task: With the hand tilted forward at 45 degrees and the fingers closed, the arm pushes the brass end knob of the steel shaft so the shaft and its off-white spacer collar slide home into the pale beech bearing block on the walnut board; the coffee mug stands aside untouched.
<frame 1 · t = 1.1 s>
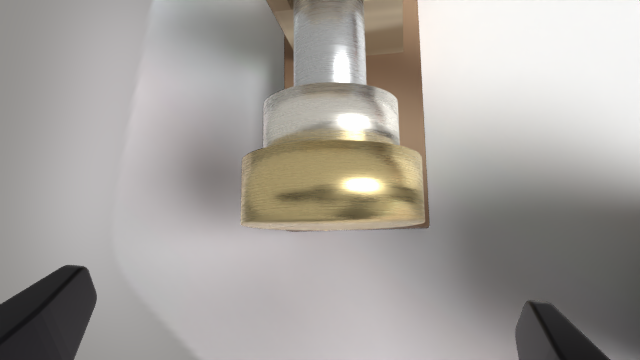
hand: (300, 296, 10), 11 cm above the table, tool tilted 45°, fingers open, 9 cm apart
shaft: (329, 79, 14), point 7 cm above the table, slide at 4.0 cm
bearing stand: (354, 88, 21), on the table
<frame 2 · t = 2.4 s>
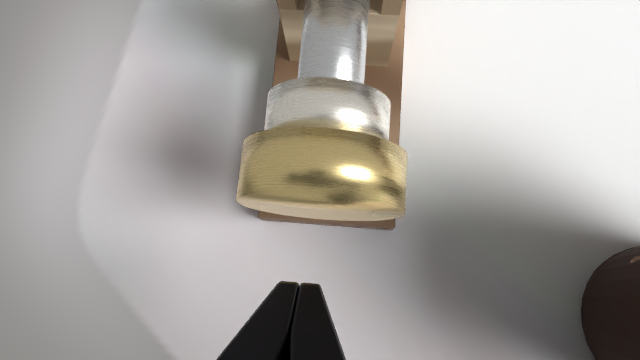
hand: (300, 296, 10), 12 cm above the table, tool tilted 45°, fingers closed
shaft: (331, 77, 15), point 7 cm above the table, slide at 4.0 cm
bearing stand: (337, 93, 23), on the table
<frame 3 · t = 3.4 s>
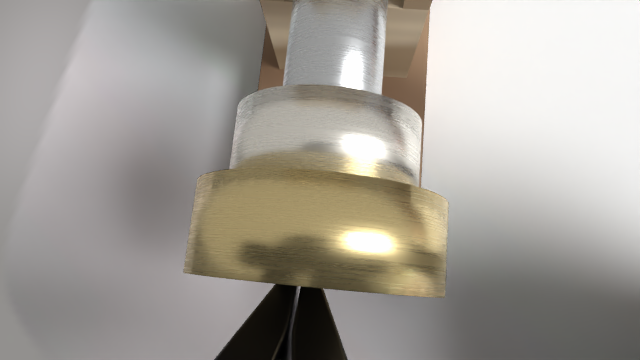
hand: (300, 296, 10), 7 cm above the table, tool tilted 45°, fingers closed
shaft: (332, 83, 10), point 7 cm above the table, slide at 3.6 cm, touching gripper
bearing stand: (340, 111, 18), on the table
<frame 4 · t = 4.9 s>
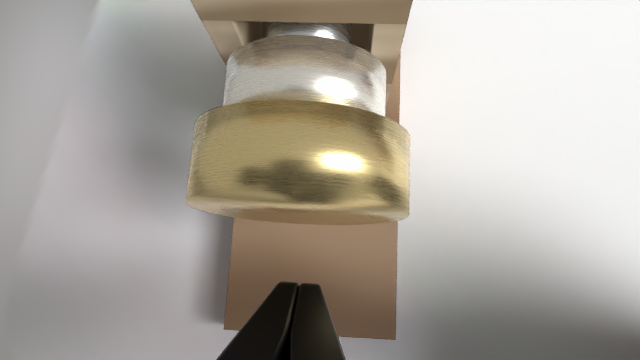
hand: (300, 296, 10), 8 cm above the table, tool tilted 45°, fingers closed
shaft: (308, 42, 12), point 7 cm above the table, slide at 0.2 cm
bearing stand: (319, 161, 19), on the table
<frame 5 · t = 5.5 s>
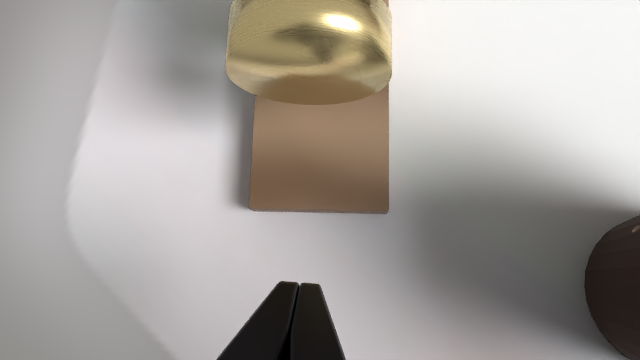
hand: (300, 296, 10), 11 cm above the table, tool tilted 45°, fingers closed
bearing stand: (323, 77, 22), on the table
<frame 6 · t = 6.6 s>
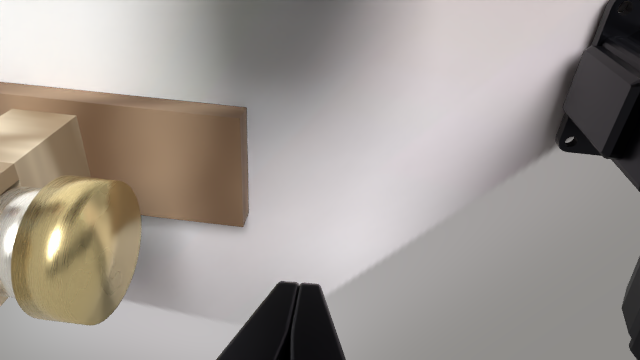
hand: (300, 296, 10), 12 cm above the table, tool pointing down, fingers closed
bearing stand: (118, 149, 23), on the table
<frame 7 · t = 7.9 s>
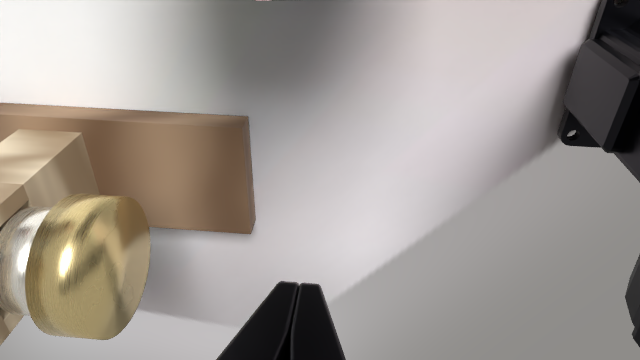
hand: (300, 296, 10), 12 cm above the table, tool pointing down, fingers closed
shaft: (7, 257, 17), point 7 cm above the table, slide at 0.2 cm
bearing stand: (125, 163, 23), on the table
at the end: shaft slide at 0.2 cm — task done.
